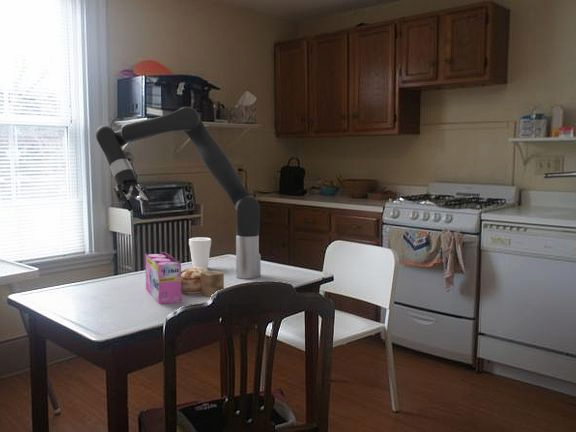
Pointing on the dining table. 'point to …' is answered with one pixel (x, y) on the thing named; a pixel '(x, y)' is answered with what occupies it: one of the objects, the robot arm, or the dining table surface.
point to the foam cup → (200, 251)
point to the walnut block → (211, 282)
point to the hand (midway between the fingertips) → (140, 210)
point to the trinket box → (191, 280)
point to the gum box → (163, 278)
